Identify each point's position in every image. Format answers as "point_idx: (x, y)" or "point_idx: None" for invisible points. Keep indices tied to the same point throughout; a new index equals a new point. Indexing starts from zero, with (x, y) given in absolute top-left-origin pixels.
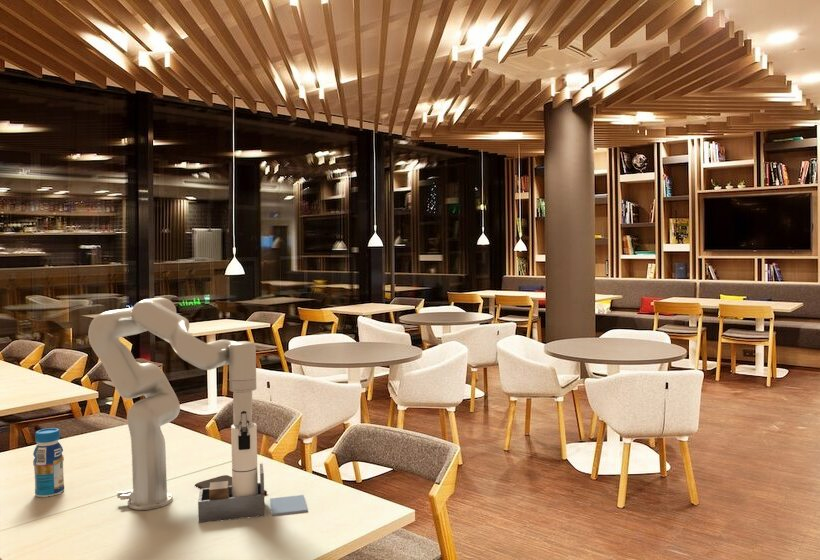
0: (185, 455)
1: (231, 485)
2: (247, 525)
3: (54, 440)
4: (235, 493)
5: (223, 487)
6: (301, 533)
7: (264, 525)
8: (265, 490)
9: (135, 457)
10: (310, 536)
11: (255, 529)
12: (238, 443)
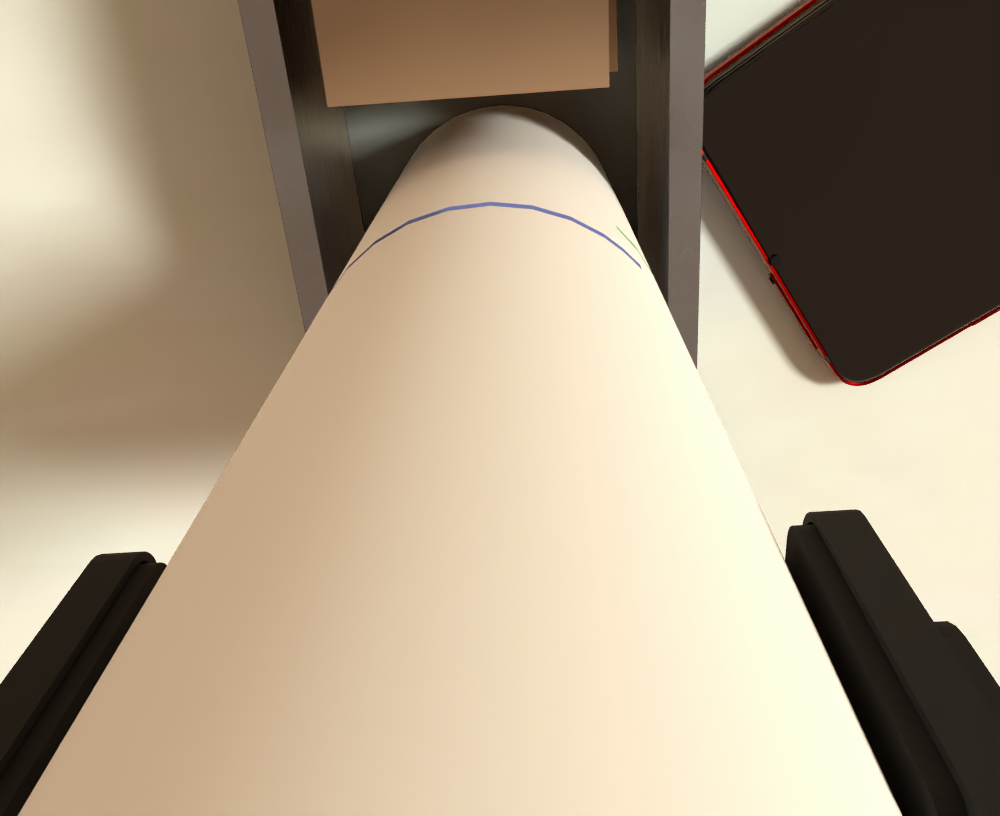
0: None
1: None
2: (182, 256)
3: None
4: (399, 182)
5: (355, 47)
6: (44, 597)
7: (177, 381)
8: (873, 377)
9: None
10: (3, 639)
11: (104, 321)
12: (25, 657)
